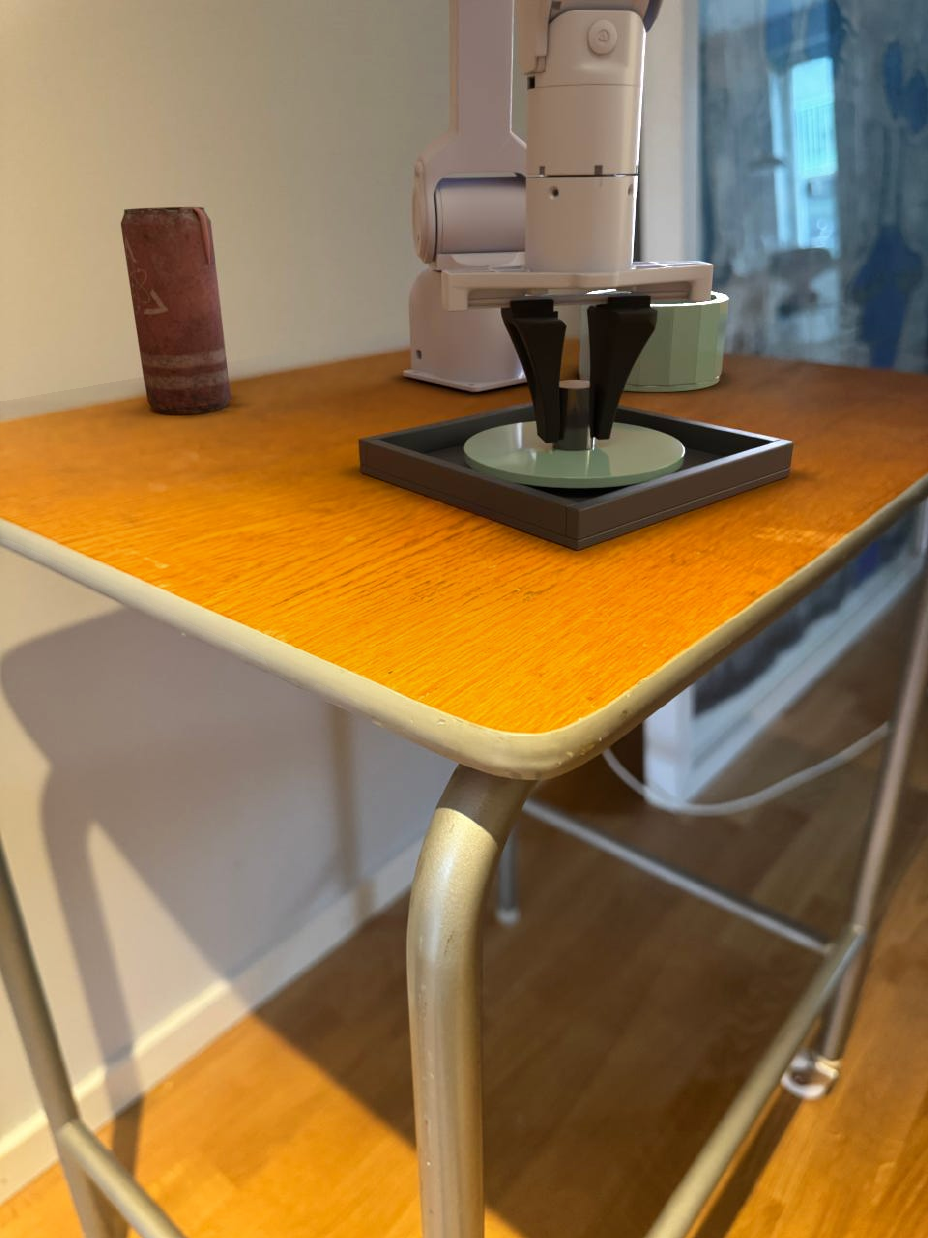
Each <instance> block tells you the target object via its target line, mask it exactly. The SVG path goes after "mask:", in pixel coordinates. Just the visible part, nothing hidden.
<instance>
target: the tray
mask: <svg viewBox="0 0 928 1238" xmlns="http://www.w3.org/2000/svg"><path fill="white" fill-rule="evenodd" d="M532 421H536V419H535V413H534V407H533V403H532V401H530V402H526V403H525V402H524V403H520V404H516V405H511V406H507V407H502V408H497V409H493V410H488V411H484V412H478V413H474V414H470V415H465V416H459V417H455V418H451V419H446V420H441V421H437V422H436V421H435V422H431V423H427V424H423V425H418V426H414V427H409V428H404V429H400V430H395V431H390V432H386V433H379V434H375V435H371V436H367V437H362V438H358V442H357V443H358V455H359V457H358V458H359V459H358V460H359V472H360V473H361V474H365V475H367V476H370V477H373V478H376V479H379V480H381V481H384V482H387V483H389V484H392V485H395V486H398V487H401V488H404V489H406V490H409V491H412V492H415V493H417V494H420V495H423V496H426V497H428V498H431V499H434V500H437V501H439V502H443V503H445V504H448V505H451V506H454V507H456V508H460V510H461V509H462V510H464V511H468V512H470V513H473V514H476V515H478V516H481V517H484V518H485V519H490V520H492V521H495V522H497V523H500V524H503V525H506V526H508V527H511V528H515V529H517V530H520V531H522V532H525V533H528V534H531V535H533V536H537V537H539V538H542V539H545V540H547V541H551V542H553V543H556V544H559V545H562V546H564V547H567V548H569V549H573V550H575V551H579V550H582V549H585V548H588V547H591V546H593V545H596V544H599V543H603V542H605V541H608V540H611V539H614V538H616V537H620V536H623V535H625V534H628V533H631V532H633V531H637V530H639V529H643V528H645V527H648V526H650V525H653V524H656V523H659V522H663V521H664V520H668V519H670V518H673V517H676V516H679V515H683V514H684V513H688V512H690V511H693V510H697V509H699V508H703V507H704V506H708V505H710V504H714V503H717V502H719V501H722V500H724V499H725V500H726V499H728V498H730V497H733V496H736V495H739V494H742V493H744V492H748V491H751V490H753V489H755V488H758V487H761V486H764V485H768V484H770V483H773V482H776V481H778V480H781V479H784V478H787V477H789V476H790V475H791V466H792V459H793V451H794V441H790V440H786V439H782V438H778V437H774V436H768V435H763V434H759V433H755V432H750V431H746V430H739V429H735V428H731V427H725V426H721V425H716V424H712V423H708V422H702V421H698V420H693V419H687V418H684V417H678V416H674V415H669V414H664V413H659V412H655V411H649V410H646V409H640V408H636V407H631V406H627V405H622V404H619V405H618V408H617V411H616V414H615V418H614V421H613V422H616V423H623V424H630V425H635V426H640V427H645V428H649V429H653V430H656V431H659V432H662V433H665V434H667V435H669V436H672V437H674V438H675V439H677V440H678V441H679V442H681V443H682V444H683V446H684V448H685V458H684V463H683V465H682V466H681V467H680V468H679V469H678V470H677V471H675V472H674V473H672V474H670V475H667V476H664V477H660V478H657V479H654V480H651V481H647V482H644V483H639V484H633V485H626V486H618V487H606V488H552V487H540V486H532V485H524V484H519V483H514V482H511V481H507V480H504V479H501V478H498V477H495V476H492V475H488V474H485V473H482V472H479V471H476V470H474V469H472V468H471V467H470V466H468V465H467V463H466V462H465V460H464V457H463V447H464V444H465V442H466V441H467V440H468V439H469V438H471V437H472V436H474V435H476V434H478V433H480V432H483V431H485V430H489V429H492V428H495V427H500V426H504V425H510V424H516V423H523V422H532Z"/></svg>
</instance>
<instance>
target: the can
mask: <svg viewBox="0 0 928 1238" xmlns="http://www.w3.org/2000/svg"><path fill="white" fill-rule="evenodd" d="M120 228H121V229H120V230H121V235H122V242H123V249H124V255H125V262H126V269H127V275H128V282H129V288H130V295H131V302H132V309H133V315H134V321H135V329H136V335H137V343H138V348H139V354H140V355H139V356H140V361H141V368H142V374H143V375H142V377H143V381H144V388H145V389H144V390H145V395H146V401H147V403H148V404H149V406H150V407H151V409H153V411H154V412H156V413H159V414H164V415H181V416H183V415H197V414H204V413H211V412H215V411H218V410H221V409H224V408H226V407H227V405H228V403H229V401H230V399H231V396H232V394H231V385H230V377H229V368H228V359H227V351H226V343H225V335H224V325H223V317H222V307H221V298H220V290H219V281H218V273H217V265H216V264H217V263H216V255H215V247H214V238H213V237H214V236H213V229H212V221H211V219H210V217H209V215H208V214H207V212H206V211H205V207H203V206H166V207H165V206H164V207H163V206H162V207H139V208H137V207H136V208H125V209H123V214H122V218H121V221H120Z"/></svg>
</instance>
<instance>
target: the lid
mask: <svg viewBox="0 0 928 1238" xmlns="http://www.w3.org/2000/svg"><path fill="white" fill-rule="evenodd" d="M596 390H597V385H596V384H595V383H593V382H590V381H583V380H580V379H569V380H567V379H566V380H560V381H559V410H560V429H559V438H558V443H545V442H544V441H543V440H542V439H541V438H540V437H539V436H538V435H537V426H536V421H532V422H523V423H516V424H510V425H504V426H500V427H495V428H492V429H489V430H485V431H483V432H480V433H478V434H476V435H474V436H472V437H471V438H469V439H468V440H467V441H466V442H465V444H464V447H463V457H464V460H465V462H466V463H467V465H468V466H470V467H471V468H472V469H474V470H476V471H479V472H482V473H485V474H488V475H492V476H495V477H498V478H501V479H504V480H507V481H511V482H514V483H519V484H524V485H532V486H540V487H552V488H606V487H618V486H626V485H633V484H639V483H644V482H647V481H651V480H654V479H657V478H660V477H664V476H667V475H670V474H672V473H674V472H675V471H677V470H678V469H679V468H680V467H681V466H682V465H683V463H684V458H685V448H684V446H683V444H682V443H681V442H679V441H678V440H677V439H675V438H674V437H672V436H669V435H667V434H665V433H662V432H659V431H656V430H653V429H649V428H645V427H640V426H635V425H630V424H623V423H616V422H613V425H612V430H611V434H610V439H608V440H598V439H596V438H595V437H594V436H595V413H596Z"/></svg>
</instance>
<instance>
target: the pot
mask: <svg viewBox="0 0 928 1238" xmlns="http://www.w3.org/2000/svg"><path fill="white" fill-rule="evenodd" d="M616 292H630V291H616V290H614V289H606V290H605V289H604V290H596V291H591V292H587V293H586V294H590V293H616ZM729 302H730V301H729V297H728V296H727V295H726V294H723V293H720V292H719V293H718V292H715V291H711V301H709V302H690V301H688V300H687V301H662V302H651V304H650V308H653V309H656V310H657V311H658V315H657V323H656V327H655V330H654V332H653V333H652V335H651V336H650V338H649V340H648V341H647V343H646V344H645V346H644V348H643V350H642V351H641V353H640V355H639V357H638V359H637V361H636V363H635V365H634V367H633V369H632V371H631V373H630V375H629V378H628V380H627V382H626V385H625V387H624V390H623V392H636V393H637V392H638V393H676V392H686V391H687V392H689V391H695V390H701V389H706V388H709V387H712V386H715V385H717V384H718V383H719V382H720V380H721V376H722V372H723V362H724V353H725V341H726V331H727V323H728V322H727V320H728V309H729ZM591 305H598V304H586V305H580V329H579V331H580V332H579V361H578V378H579V380H583V381H590V349H589V331H588V319H587V309H588V307H589V306H591Z"/></svg>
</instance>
